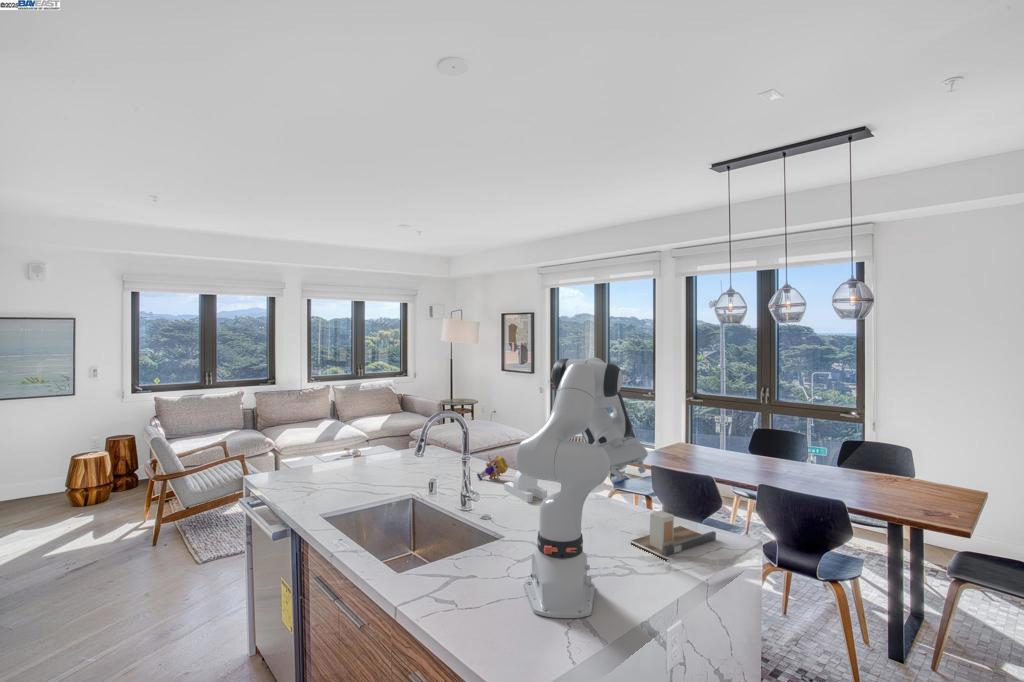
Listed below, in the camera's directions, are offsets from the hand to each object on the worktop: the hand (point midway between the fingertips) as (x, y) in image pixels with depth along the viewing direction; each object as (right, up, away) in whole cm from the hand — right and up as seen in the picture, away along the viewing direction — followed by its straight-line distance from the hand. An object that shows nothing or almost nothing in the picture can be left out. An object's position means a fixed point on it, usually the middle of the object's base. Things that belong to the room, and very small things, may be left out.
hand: (632, 475), depth 169 cm
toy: (-49, -20, +67) cm, 85 cm away
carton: (+7, -19, -10) cm, 23 cm away
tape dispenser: (-35, -20, +44) cm, 60 cm away
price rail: (+16, -20, -11) cm, 27 cm away
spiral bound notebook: (+12, -21, -5) cm, 25 cm away
